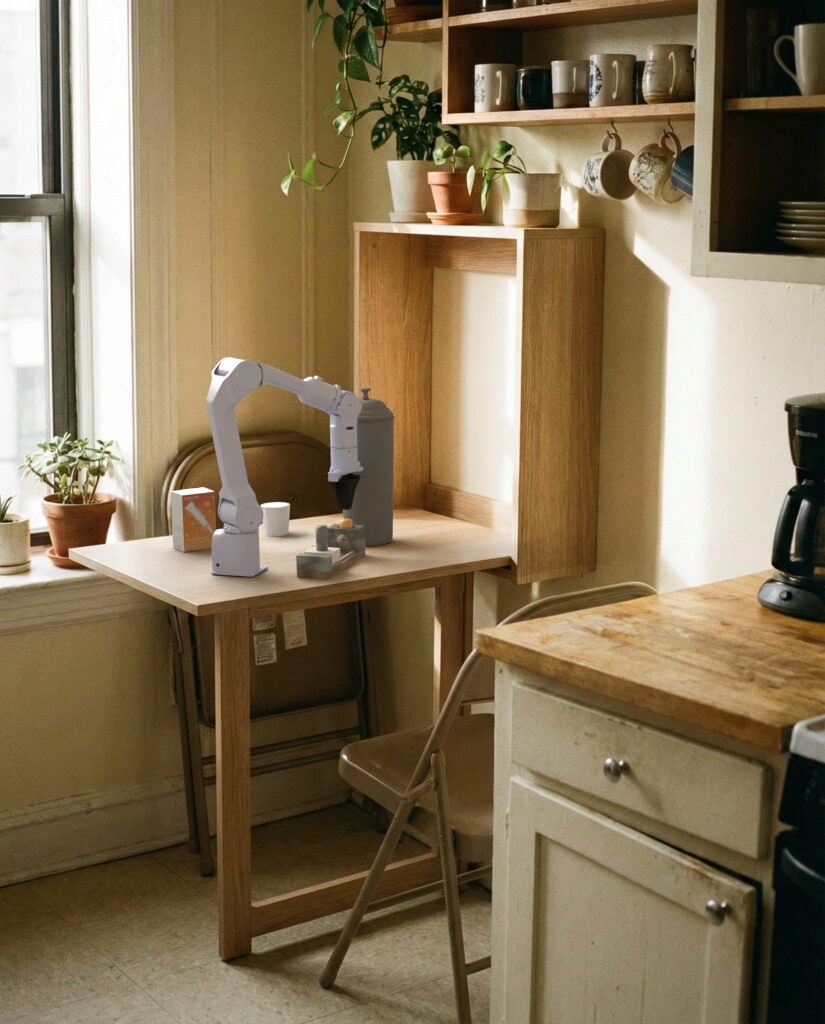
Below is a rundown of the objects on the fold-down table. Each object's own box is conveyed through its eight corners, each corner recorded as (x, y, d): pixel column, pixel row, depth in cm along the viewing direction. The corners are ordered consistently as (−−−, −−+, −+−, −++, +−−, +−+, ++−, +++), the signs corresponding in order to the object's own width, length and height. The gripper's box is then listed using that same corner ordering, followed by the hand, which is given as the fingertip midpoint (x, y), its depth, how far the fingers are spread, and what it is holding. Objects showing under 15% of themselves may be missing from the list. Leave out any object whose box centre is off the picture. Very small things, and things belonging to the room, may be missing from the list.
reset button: (337, 534, 292) (337, 520, 291) (342, 531, 294) (342, 518, 294) (350, 535, 291) (349, 521, 290) (354, 532, 294) (354, 518, 293)
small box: (184, 552, 299) (181, 494, 296) (172, 547, 304) (169, 490, 302) (217, 547, 303) (215, 490, 301) (205, 542, 309) (203, 486, 306)
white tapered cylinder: (275, 529, 322) (274, 500, 320) (297, 532, 318) (296, 503, 316) (255, 534, 316) (254, 505, 315) (277, 538, 312) (276, 508, 311)
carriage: (304, 563, 278) (303, 528, 277) (313, 557, 283) (312, 523, 282) (331, 564, 277) (330, 529, 275) (340, 559, 281) (339, 524, 280)
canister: (376, 550, 298) (373, 392, 291) (329, 544, 305) (325, 389, 298) (407, 539, 309) (405, 386, 302) (361, 533, 316) (357, 383, 308)
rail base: (296, 576, 276) (295, 545, 275) (335, 552, 297) (334, 523, 295) (328, 579, 274) (328, 547, 273) (365, 554, 295) (364, 525, 293)
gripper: (349, 452, 281) (351, 516, 284) (373, 442, 294) (374, 503, 297) (318, 451, 283) (320, 514, 286) (342, 441, 297) (344, 501, 299)
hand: (345, 509), depth 292 cm, fingers closed
